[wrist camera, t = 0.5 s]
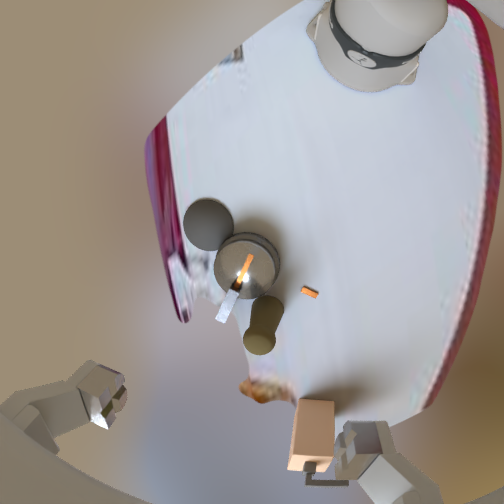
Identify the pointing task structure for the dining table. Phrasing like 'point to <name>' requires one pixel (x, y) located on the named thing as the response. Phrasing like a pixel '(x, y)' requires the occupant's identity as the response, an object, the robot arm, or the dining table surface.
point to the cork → (263, 325)
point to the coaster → (207, 225)
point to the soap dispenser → (314, 441)
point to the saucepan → (243, 272)
